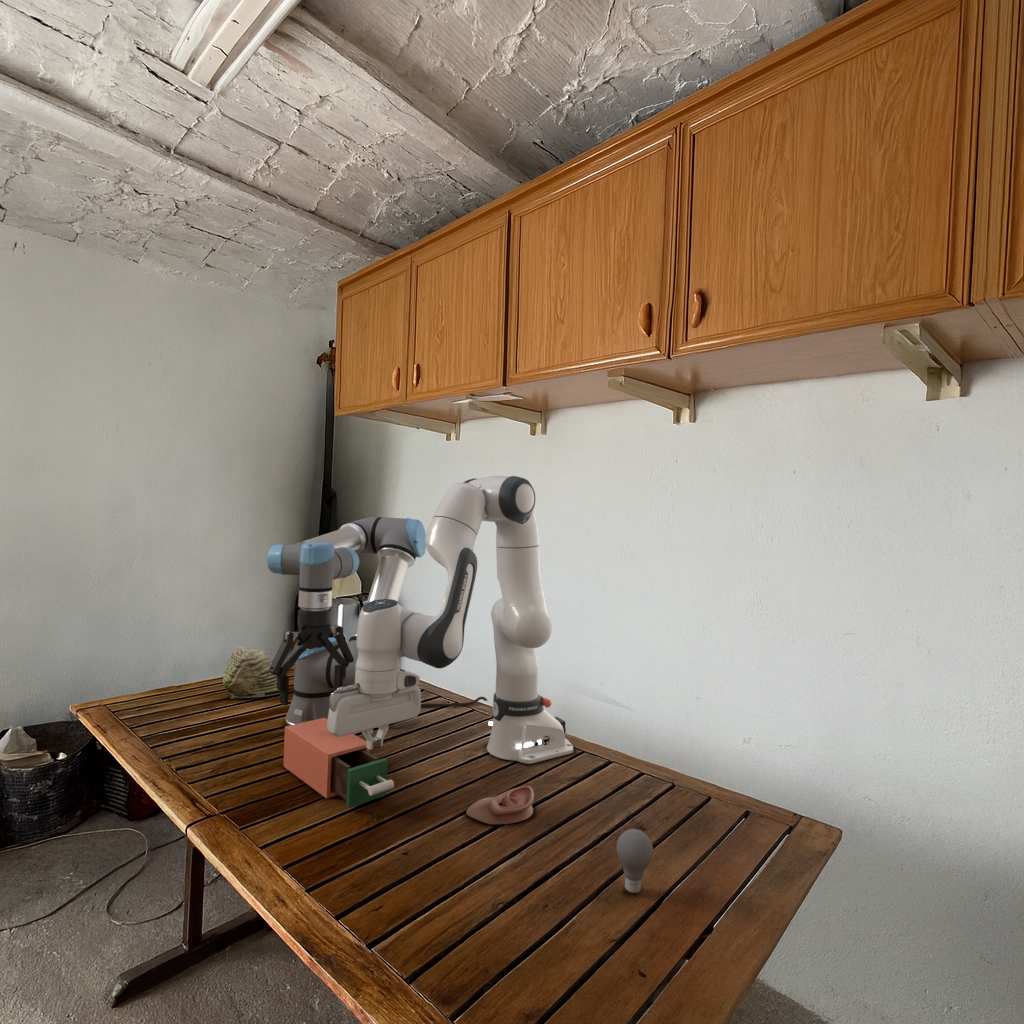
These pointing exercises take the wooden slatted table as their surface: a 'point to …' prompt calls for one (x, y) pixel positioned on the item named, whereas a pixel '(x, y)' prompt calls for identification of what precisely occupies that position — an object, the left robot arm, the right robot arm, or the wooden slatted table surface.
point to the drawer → (359, 777)
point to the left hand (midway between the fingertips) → (311, 698)
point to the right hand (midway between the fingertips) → (374, 747)
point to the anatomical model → (504, 807)
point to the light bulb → (634, 857)
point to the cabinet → (316, 752)
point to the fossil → (249, 674)
